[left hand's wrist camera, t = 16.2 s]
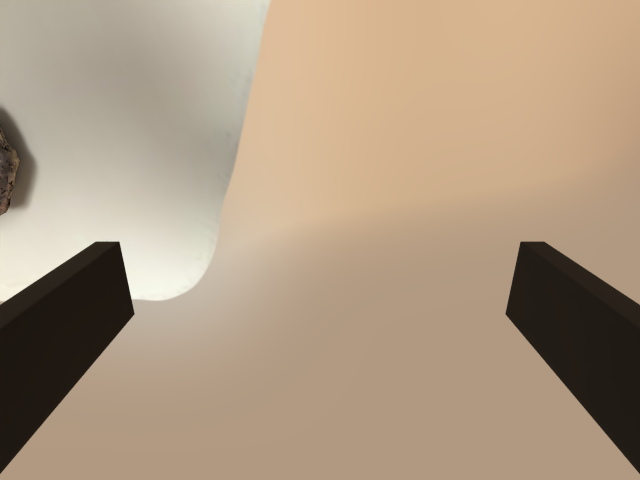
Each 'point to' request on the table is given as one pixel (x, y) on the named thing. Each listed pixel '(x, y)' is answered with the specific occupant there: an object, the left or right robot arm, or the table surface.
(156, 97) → the table surface
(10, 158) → the miniature building
